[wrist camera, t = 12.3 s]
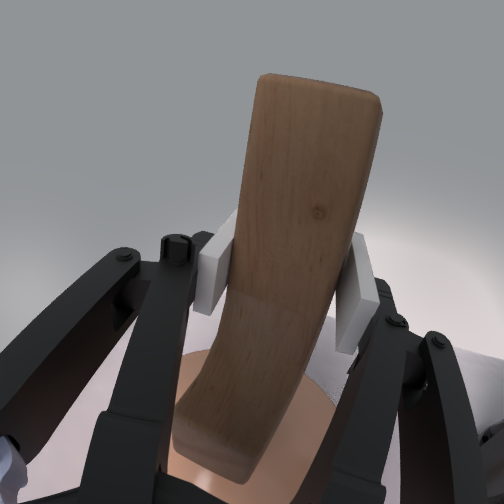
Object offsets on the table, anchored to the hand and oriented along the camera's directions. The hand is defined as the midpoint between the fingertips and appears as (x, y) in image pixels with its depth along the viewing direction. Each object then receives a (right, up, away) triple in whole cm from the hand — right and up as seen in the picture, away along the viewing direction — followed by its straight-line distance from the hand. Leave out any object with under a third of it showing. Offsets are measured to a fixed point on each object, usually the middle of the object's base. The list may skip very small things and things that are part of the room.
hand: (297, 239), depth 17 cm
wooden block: (-3, -11, 0) cm, 11 cm away
